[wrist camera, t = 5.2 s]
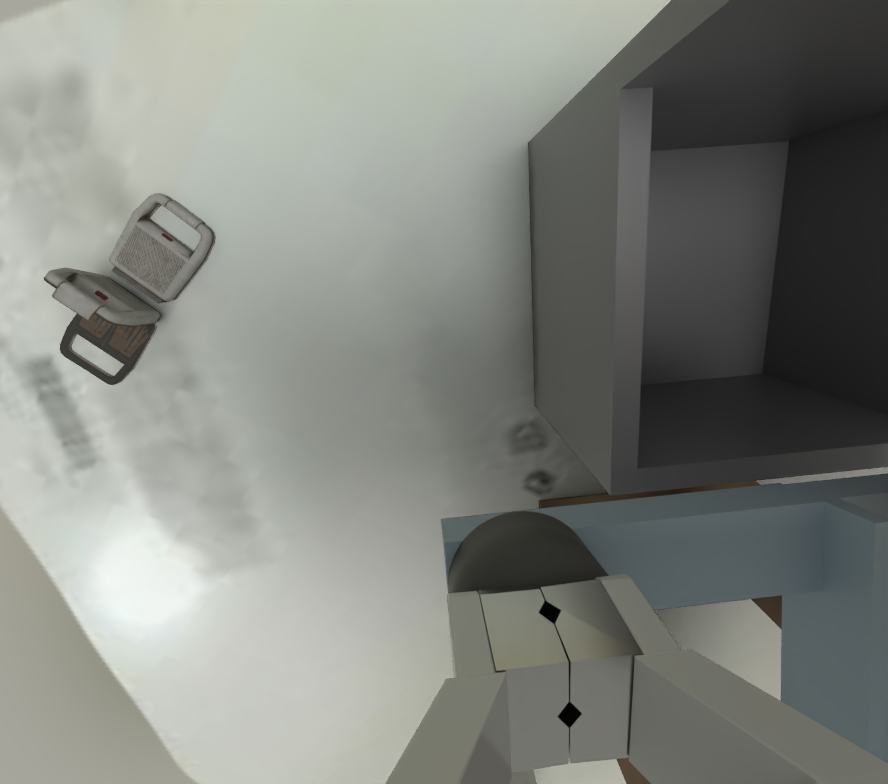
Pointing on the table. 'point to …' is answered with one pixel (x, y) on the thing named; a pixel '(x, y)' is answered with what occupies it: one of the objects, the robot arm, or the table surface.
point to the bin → (719, 248)
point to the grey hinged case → (142, 265)
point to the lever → (726, 574)
